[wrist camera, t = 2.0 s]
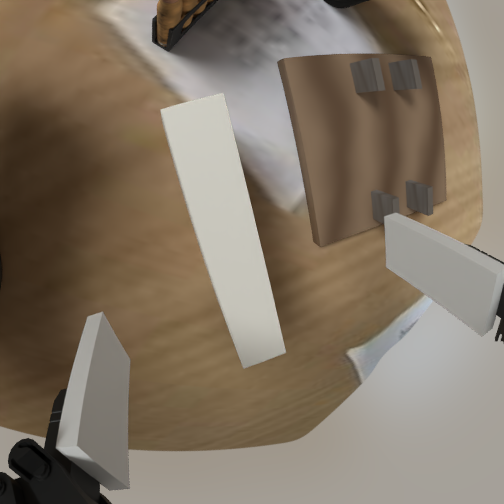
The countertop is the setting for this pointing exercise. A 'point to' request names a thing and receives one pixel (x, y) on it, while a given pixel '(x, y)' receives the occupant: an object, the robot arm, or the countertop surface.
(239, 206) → the door panel
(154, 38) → the ammunition clip
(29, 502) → the robot arm
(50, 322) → the countertop surface
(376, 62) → the clip board
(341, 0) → the drinking cup
